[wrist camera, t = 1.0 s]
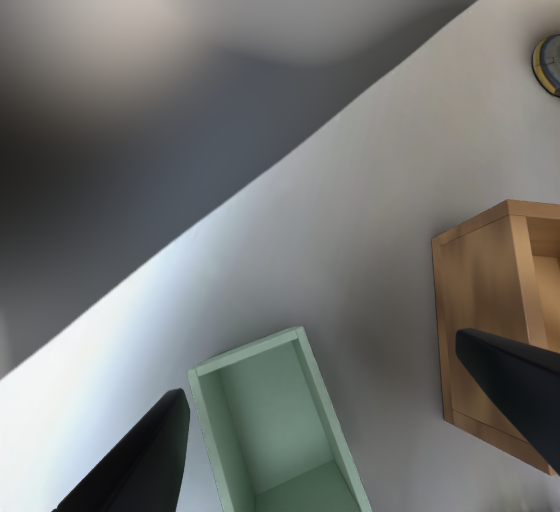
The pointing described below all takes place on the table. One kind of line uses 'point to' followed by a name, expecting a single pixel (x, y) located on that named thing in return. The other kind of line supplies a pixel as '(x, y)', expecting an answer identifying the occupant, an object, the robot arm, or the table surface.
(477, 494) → the table surface
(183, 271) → the table surface
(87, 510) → the robot arm
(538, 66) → the apothecary jar
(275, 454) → the bin
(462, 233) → the crate
